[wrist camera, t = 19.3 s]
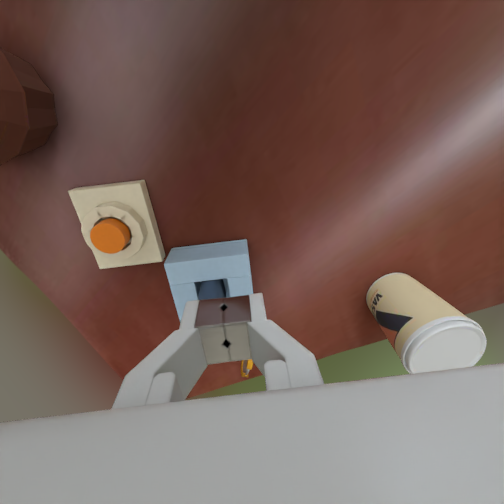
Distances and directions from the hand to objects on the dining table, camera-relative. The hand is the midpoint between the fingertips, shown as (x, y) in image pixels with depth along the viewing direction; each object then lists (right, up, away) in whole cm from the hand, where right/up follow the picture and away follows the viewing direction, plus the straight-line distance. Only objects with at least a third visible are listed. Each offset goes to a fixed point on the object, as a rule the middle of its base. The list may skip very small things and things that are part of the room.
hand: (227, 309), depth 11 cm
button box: (-15, +6, +22) cm, 27 cm away
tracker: (0, -15, +34) cm, 37 cm away
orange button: (-15, +4, +20) cm, 25 cm away
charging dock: (-4, -2, +27) cm, 27 cm away
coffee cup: (+22, -4, +30) cm, 38 cm away
